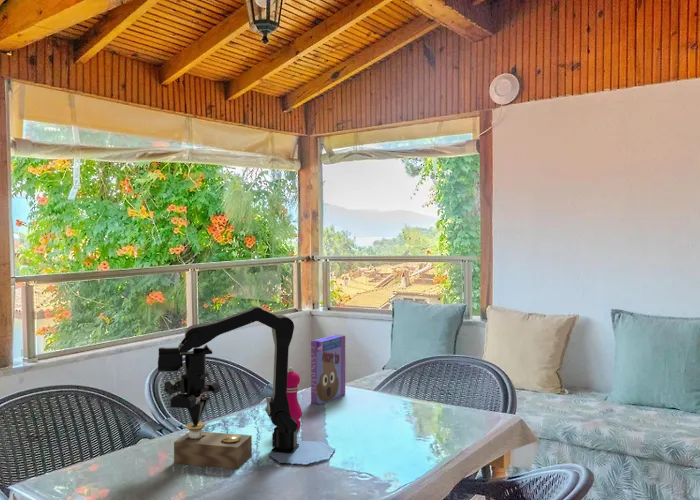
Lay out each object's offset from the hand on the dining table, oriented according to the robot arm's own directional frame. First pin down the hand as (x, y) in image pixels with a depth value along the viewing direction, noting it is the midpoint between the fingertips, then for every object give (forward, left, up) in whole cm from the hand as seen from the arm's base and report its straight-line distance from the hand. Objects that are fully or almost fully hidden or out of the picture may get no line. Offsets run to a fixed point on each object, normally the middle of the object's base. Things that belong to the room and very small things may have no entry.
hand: (195, 424), depth 170 cm
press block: (-5, 0, -10) cm, 11 cm away
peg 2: (-11, 0, -10) cm, 15 cm away
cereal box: (-20, -70, -10) cm, 74 cm away
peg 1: (0, 0, -7) cm, 7 cm away
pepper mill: (-17, -33, -10) cm, 39 cm away
